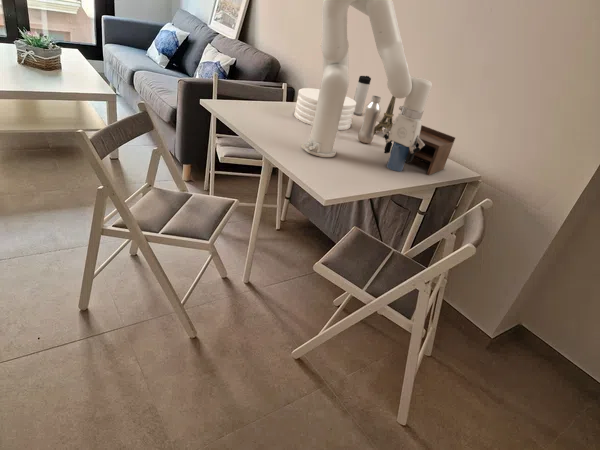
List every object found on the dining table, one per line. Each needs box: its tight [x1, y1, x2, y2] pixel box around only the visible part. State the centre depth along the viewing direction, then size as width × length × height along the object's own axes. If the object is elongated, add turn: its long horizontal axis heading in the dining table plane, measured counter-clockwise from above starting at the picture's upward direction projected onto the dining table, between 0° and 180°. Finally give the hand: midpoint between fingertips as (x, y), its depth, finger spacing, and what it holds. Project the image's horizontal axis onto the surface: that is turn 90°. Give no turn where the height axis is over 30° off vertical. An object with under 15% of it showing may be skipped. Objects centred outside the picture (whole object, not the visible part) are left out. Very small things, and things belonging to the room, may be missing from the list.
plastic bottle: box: [357, 95, 382, 144], centre depth 180 cm, size 6×7×20 cm
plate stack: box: [293, 87, 356, 131], centre depth 201 cm, size 28×28×12 cm
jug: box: [386, 141, 410, 172], centre depth 161 cm, size 10×6×10 cm, turn 138°
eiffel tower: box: [374, 95, 397, 139], centre depth 198 cm, size 11×11×25 cm
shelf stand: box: [407, 124, 456, 176], centre depth 169 cm, size 14×16×14 cm
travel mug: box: [353, 75, 372, 116], centre depth 225 cm, size 6×7×20 cm
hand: (397, 157), depth 161 cm, fingers open, 9 cm apart
